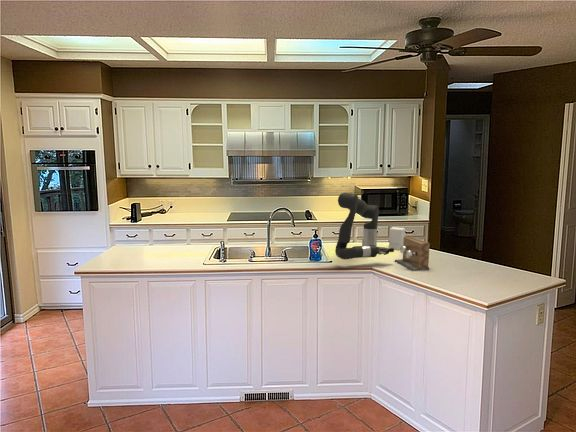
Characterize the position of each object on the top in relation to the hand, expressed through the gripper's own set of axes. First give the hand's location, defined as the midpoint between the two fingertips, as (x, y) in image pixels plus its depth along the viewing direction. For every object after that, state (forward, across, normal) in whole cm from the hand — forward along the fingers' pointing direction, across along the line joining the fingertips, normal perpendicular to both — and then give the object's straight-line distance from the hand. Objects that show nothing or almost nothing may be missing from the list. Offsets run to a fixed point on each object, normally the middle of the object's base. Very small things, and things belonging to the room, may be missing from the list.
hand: (393, 249), depth 270 cm
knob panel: (+9, -6, +9) cm, 14 cm away
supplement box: (+23, +38, +9) cm, 46 cm away
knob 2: (+7, -12, +2) cm, 14 cm away
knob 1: (+10, 0, +2) cm, 10 cm away
